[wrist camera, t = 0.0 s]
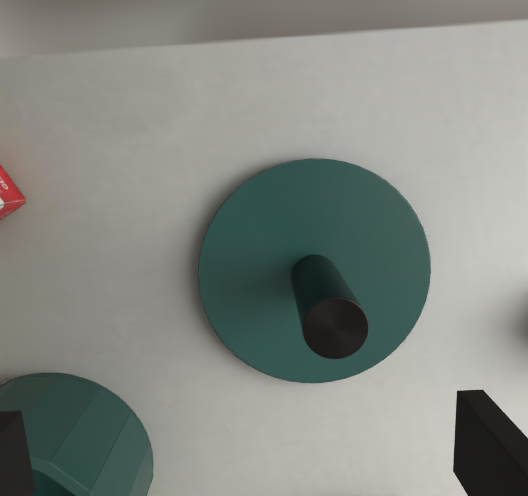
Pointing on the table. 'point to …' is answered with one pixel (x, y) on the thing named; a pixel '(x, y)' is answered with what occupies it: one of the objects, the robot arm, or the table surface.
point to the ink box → (9, 195)
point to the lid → (314, 270)
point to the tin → (80, 437)
